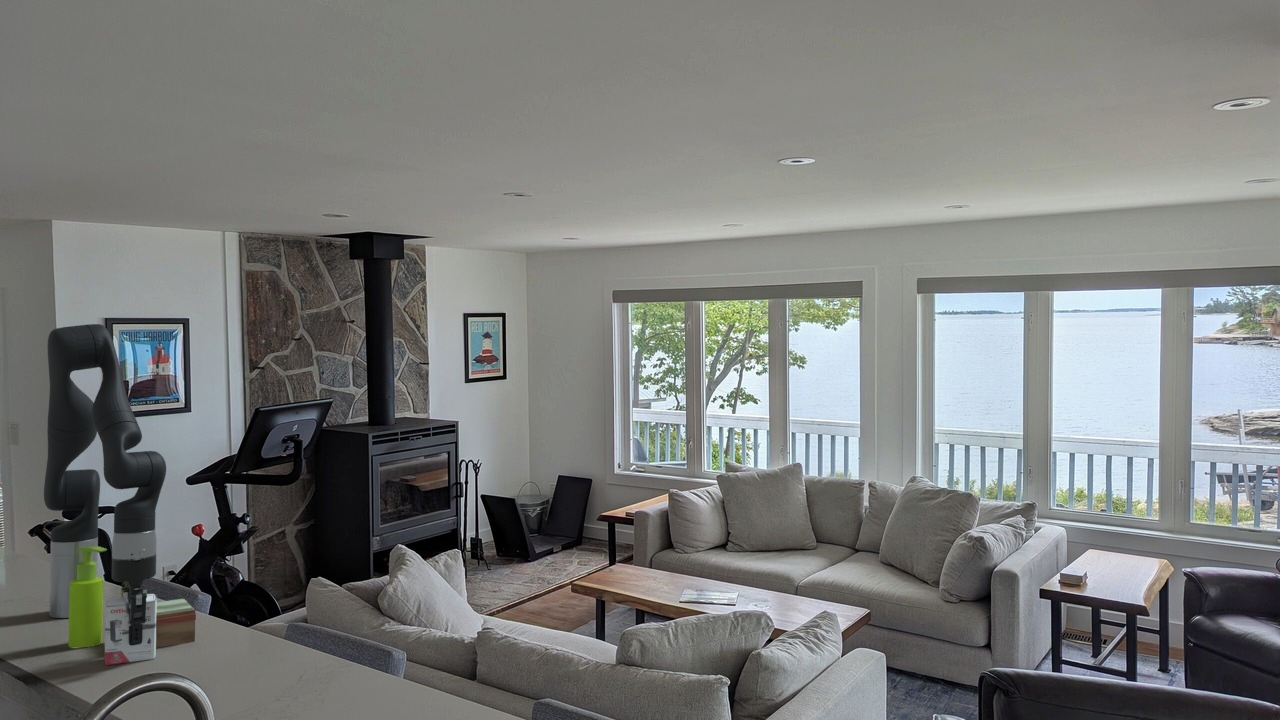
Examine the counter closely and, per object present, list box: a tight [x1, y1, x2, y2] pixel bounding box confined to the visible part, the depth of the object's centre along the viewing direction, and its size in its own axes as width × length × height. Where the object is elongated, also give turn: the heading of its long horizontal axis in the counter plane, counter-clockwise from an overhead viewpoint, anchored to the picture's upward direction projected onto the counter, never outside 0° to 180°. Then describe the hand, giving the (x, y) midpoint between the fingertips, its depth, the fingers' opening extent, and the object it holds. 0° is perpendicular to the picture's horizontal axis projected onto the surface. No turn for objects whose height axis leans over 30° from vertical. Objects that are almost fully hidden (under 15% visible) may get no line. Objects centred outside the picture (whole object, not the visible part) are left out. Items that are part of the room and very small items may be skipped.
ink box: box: [104, 593, 158, 666], centre depth 168 cm, size 9×5×12 cm, turn 119°
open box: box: [156, 598, 197, 649], centre depth 180 cm, size 11×12×7 cm
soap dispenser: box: [67, 545, 108, 648], centre depth 177 cm, size 6×7×20 cm
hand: (133, 640), depth 168 cm, fingers closed on ink box, 5 cm apart
